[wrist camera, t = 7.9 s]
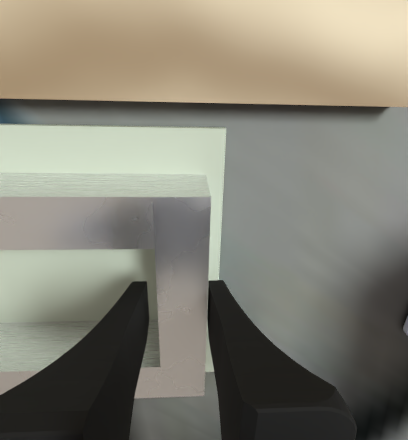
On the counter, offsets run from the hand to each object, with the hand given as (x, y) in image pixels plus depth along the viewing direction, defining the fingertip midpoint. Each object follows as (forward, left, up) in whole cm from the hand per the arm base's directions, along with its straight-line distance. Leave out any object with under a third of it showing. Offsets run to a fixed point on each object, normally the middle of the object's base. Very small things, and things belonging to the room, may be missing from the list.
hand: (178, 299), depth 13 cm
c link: (0, +5, -2) cm, 5 cm away
